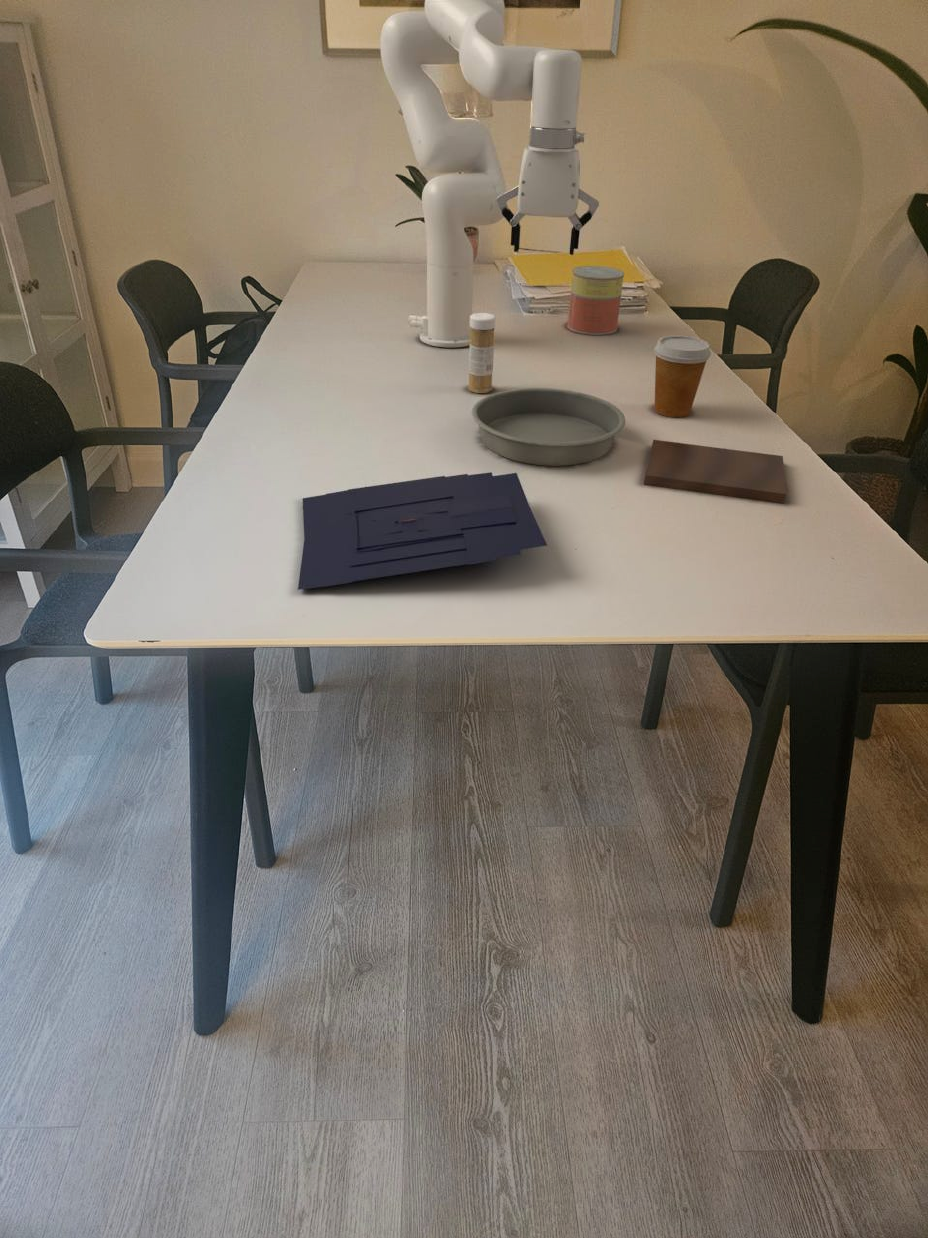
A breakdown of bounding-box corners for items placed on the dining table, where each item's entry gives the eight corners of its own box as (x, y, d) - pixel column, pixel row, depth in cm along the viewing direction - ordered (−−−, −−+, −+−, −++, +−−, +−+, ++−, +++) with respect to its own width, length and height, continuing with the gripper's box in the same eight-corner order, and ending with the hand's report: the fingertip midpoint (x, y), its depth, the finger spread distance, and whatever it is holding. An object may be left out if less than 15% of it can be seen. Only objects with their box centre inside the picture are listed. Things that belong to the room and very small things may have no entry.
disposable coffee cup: (704, 407, 154) (717, 339, 147) (692, 424, 147) (705, 354, 140) (652, 397, 157) (662, 331, 150) (638, 414, 150) (649, 345, 143)
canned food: (625, 326, 195) (632, 270, 189) (604, 337, 187) (611, 280, 181) (580, 317, 200) (586, 263, 193) (558, 328, 192) (563, 272, 185)
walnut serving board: (643, 484, 127) (645, 474, 126) (651, 448, 138) (653, 439, 137) (783, 503, 123) (786, 494, 122) (780, 464, 134) (782, 455, 133)
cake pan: (633, 424, 146) (637, 398, 144) (605, 482, 127) (609, 453, 125) (496, 403, 153) (497, 378, 150) (449, 455, 133) (450, 428, 131)
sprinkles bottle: (481, 383, 161) (484, 310, 153) (497, 390, 158) (501, 316, 150) (462, 388, 158) (464, 314, 151) (478, 395, 156) (481, 320, 148)
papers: (551, 572, 103) (550, 546, 101) (302, 610, 101) (296, 584, 99) (515, 484, 123) (513, 461, 120) (306, 514, 121) (301, 491, 119)
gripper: (605, 139, 142) (593, 249, 152) (501, 135, 144) (496, 244, 153) (605, 144, 136) (593, 259, 146) (497, 139, 138) (492, 253, 147)
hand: (544, 251), depth 149 cm, fingers open, 9 cm apart
